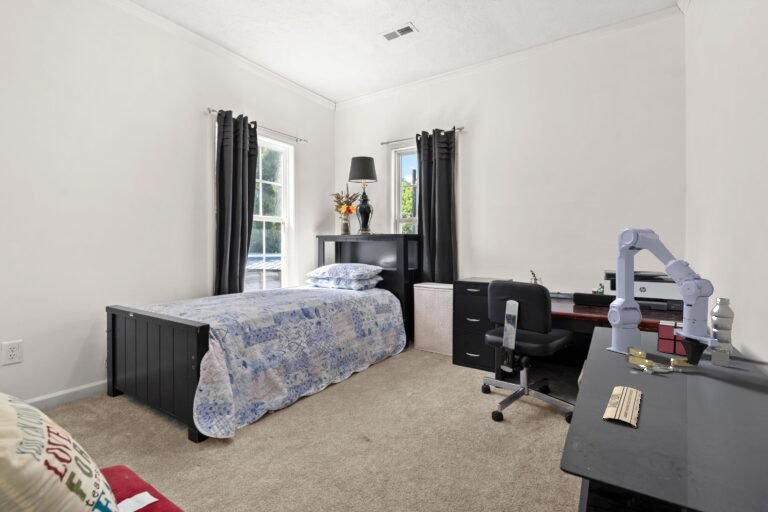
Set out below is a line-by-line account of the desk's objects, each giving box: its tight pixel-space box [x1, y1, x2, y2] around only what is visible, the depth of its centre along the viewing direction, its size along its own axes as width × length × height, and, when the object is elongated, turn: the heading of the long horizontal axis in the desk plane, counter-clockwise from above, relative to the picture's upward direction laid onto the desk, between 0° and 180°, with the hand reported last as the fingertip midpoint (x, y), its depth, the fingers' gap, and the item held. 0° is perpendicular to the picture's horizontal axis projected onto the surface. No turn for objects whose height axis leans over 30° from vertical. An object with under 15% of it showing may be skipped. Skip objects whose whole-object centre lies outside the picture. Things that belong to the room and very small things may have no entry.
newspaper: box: [602, 385, 642, 427], centre depth 91 cm, size 24×7×2 cm, turn 144°
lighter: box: [705, 346, 730, 368], centre depth 126 cm, size 7×2×8 cm, turn 45°
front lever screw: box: [624, 354, 654, 368], centre depth 119 cm, size 8×2×2 cm, turn 29°
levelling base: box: [637, 361, 682, 375], centre depth 120 cm, size 13×12×1 cm
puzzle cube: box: [656, 320, 687, 357], centre depth 141 cm, size 10×10×10 cm
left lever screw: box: [670, 357, 699, 367], centre depth 119 cm, size 8×2×2 cm, turn 94°
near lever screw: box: [627, 347, 647, 359], centre depth 128 cm, size 8×2×2 cm, turn 179°
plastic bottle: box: [709, 297, 735, 357], centre depth 137 cm, size 6×7×20 cm
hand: (693, 364), depth 117 cm, fingers closed
